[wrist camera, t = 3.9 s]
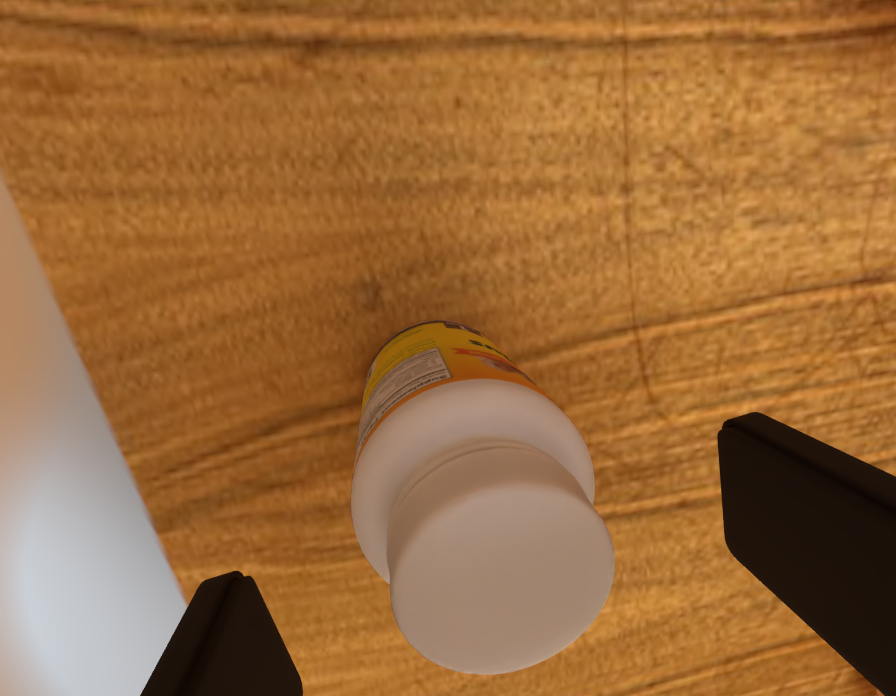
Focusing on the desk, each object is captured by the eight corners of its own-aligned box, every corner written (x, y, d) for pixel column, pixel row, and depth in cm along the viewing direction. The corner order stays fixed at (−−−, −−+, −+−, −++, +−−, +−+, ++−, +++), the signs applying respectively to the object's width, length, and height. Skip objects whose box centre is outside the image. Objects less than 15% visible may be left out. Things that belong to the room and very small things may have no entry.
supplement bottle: (527, 400, 18) (705, 606, 8) (414, 471, 18) (454, 760, 8) (459, 286, 16) (578, 371, 6) (335, 365, 16) (263, 570, 6)
